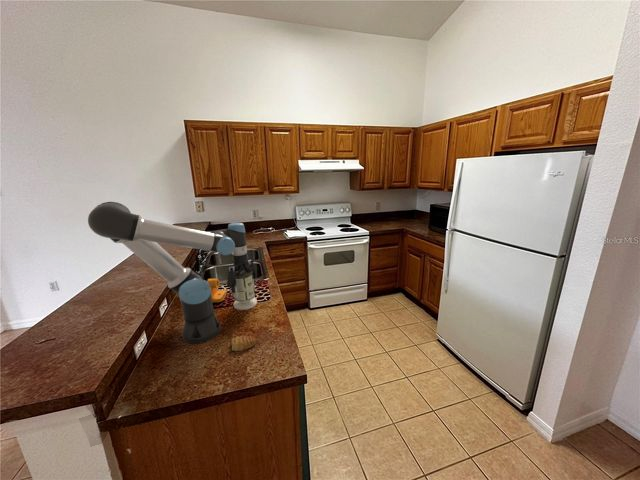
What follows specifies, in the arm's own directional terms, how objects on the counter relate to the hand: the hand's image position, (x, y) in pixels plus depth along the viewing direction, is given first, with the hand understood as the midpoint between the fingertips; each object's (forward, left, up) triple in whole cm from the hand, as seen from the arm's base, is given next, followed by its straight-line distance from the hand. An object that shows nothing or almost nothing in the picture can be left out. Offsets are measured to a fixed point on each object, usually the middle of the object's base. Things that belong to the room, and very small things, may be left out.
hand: (244, 293), depth 136 cm
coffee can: (0, 0, -2) cm, 2 cm away
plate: (0, 0, -6) cm, 6 cm away
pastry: (-22, -26, -7) cm, 35 cm away
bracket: (-5, +18, -6) cm, 20 cm away
